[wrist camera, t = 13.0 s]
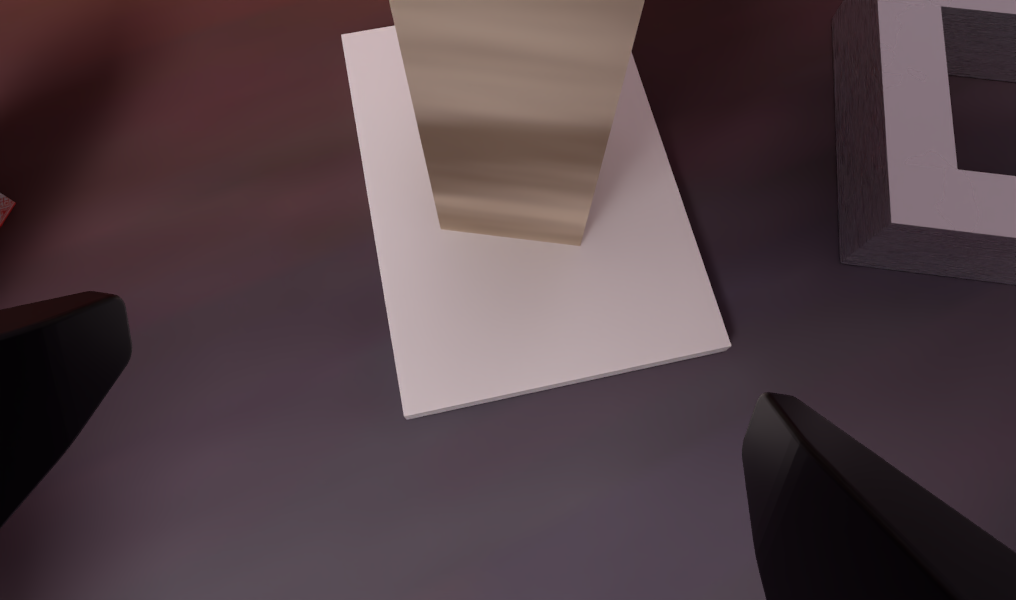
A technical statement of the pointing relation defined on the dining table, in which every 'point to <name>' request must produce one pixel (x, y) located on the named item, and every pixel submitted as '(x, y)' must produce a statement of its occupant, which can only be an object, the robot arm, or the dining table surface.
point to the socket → (919, 137)
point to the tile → (526, 262)
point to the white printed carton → (5, 207)
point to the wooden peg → (515, 107)
